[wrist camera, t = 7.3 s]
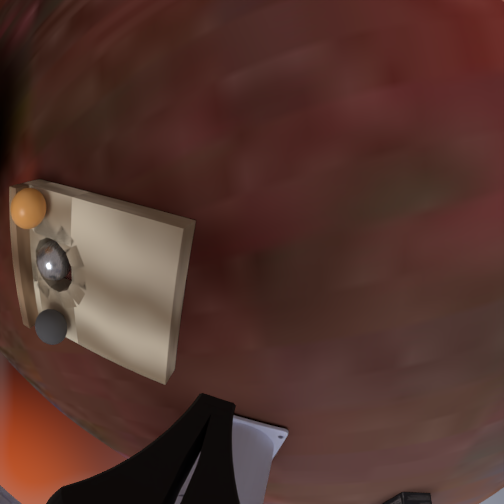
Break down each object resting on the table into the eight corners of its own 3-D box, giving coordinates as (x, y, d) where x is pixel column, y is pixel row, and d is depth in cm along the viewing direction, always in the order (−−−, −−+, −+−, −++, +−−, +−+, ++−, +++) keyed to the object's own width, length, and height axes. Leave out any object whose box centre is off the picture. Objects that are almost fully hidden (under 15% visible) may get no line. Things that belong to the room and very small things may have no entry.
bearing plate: (174, 369, 23) (157, 397, 20) (45, 308, 25) (23, 324, 22) (195, 220, 19) (172, 235, 15) (39, 179, 20) (9, 186, 17)
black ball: (75, 338, 22) (55, 356, 19) (52, 325, 22) (32, 341, 20) (72, 310, 21) (49, 328, 18) (48, 298, 21) (25, 313, 19)
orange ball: (53, 227, 19) (25, 238, 16) (31, 218, 19) (4, 228, 16) (54, 187, 18) (24, 196, 15) (31, 181, 18) (3, 188, 15)
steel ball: (48, 257, 22) (76, 272, 23) (29, 277, 19) (59, 294, 20) (50, 227, 21) (80, 242, 21) (29, 247, 18) (61, 264, 19)
